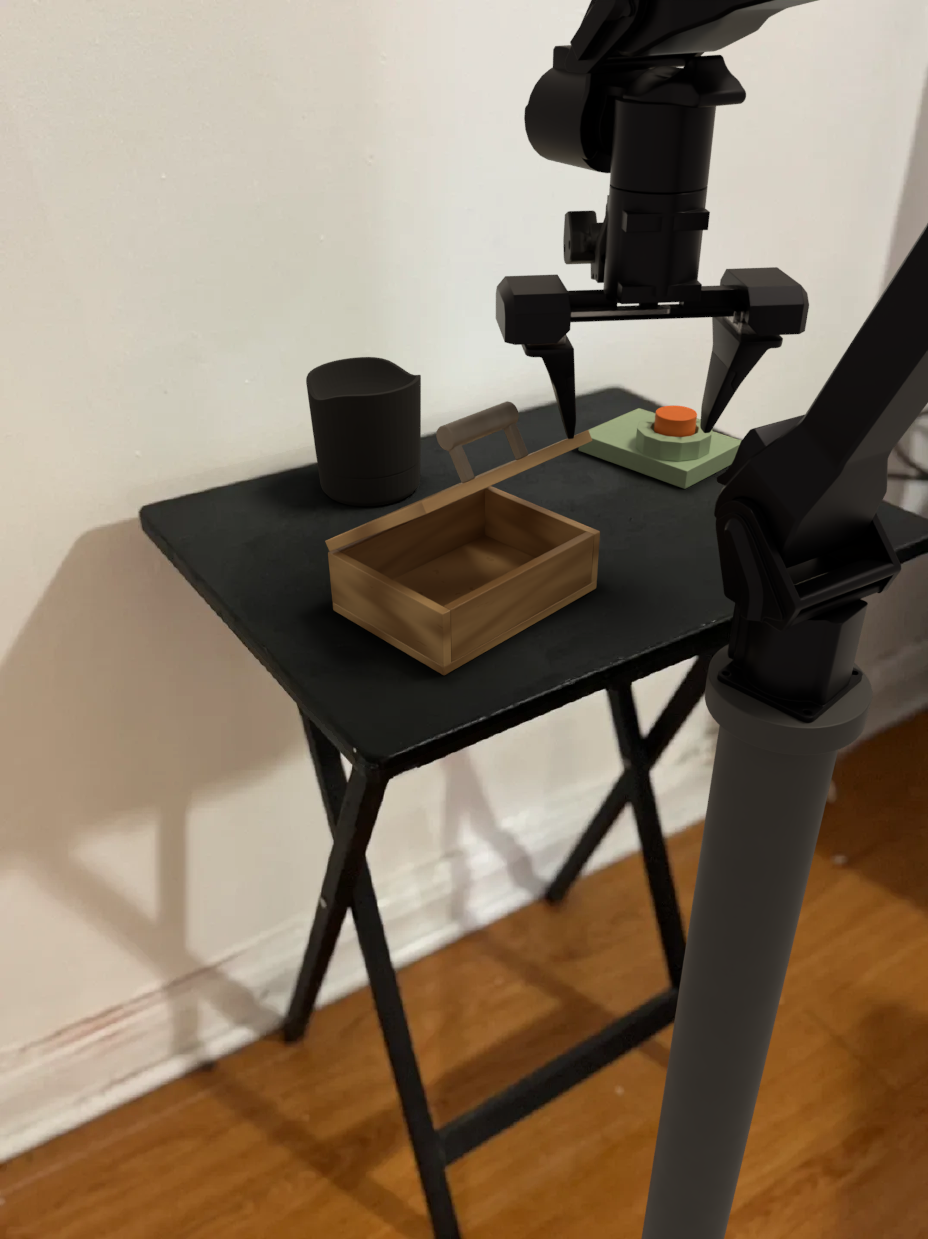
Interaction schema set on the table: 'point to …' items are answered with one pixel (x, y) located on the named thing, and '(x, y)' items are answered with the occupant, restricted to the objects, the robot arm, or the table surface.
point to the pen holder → (366, 430)
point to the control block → (661, 449)
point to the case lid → (467, 466)
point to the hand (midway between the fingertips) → (637, 433)
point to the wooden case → (464, 576)
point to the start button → (675, 421)
